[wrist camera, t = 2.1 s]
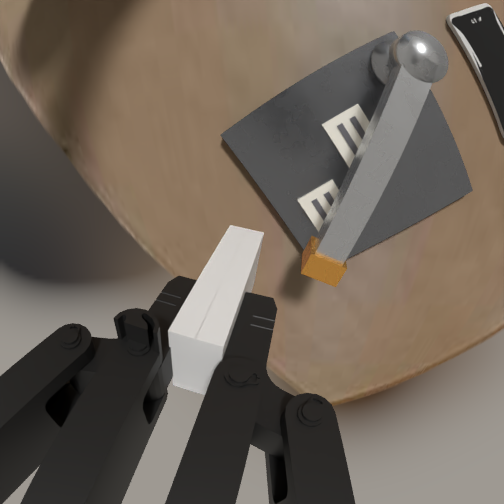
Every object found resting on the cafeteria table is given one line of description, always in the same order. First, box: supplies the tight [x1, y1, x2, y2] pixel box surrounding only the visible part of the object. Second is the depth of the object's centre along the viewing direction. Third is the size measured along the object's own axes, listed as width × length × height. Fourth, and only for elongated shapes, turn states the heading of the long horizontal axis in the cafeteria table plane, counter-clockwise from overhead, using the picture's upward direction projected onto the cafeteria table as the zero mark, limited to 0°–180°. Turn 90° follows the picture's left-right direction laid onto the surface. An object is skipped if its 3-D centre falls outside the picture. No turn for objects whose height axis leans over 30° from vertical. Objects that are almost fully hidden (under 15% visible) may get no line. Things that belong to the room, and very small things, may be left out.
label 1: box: [298, 180, 339, 232], centre depth 28 cm, size 6×4×1 cm, turn 36°
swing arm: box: [301, 31, 448, 287], centre depth 19 cm, size 22×4×3 cm, turn 161°
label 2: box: [322, 104, 370, 168], centre depth 24 cm, size 6×4×1 cm, turn 36°
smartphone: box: [446, 3, 504, 138], centre depth 17 cm, size 8×1×15 cm
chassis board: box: [221, 31, 473, 259], centre depth 24 cm, size 18×20×6 cm
